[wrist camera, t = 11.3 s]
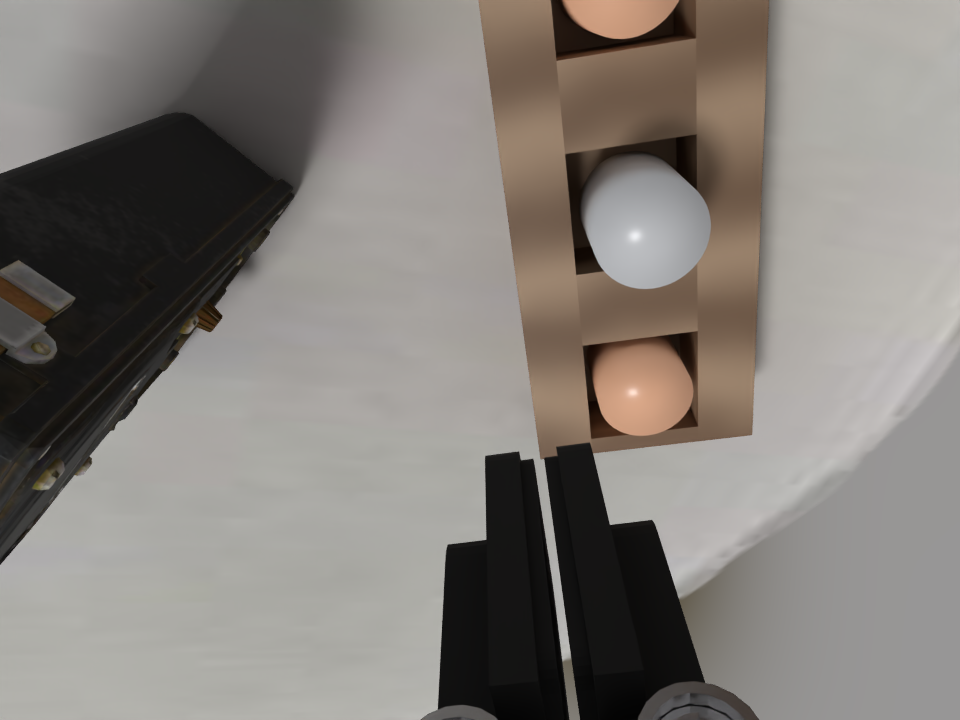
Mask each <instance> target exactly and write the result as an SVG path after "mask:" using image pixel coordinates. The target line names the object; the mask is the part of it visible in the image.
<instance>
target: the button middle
mask: <svg viewBox="0 0 960 720" xmlns="http://www.w3.org/2000/svg"><path fill="white" fill-rule="evenodd" d="M579 214H580V219H581V222H582V225H583V227H584V230H585V232H586V235H587V237H588V239H589V242H590V244H591V247H592V249H593V252H594V254H595V257H596V259H597V261H598V263H599V265H600V266H601V268H602V269H603V270H604V271H605V273H606V274H607V275H609V276H610V277H611V278H612V279H614V280H615V281H617V282H618V283H621V284H623V285H625V286H628V287H632V288H637V289H653V288H658V287H662V286H665V285H668V284H671V283H673V282H675V281H677V280H678V279H680V278H682V277H683V276H684V275H686V274H687V273H688V272H689V271H690V270H691V269H693V268H694V266H695V265H696V264H697V263H698V262H699V260H700V259H701V257H702V255H703V254H704V252H705V250H706V247H707V244H708V242H709V237H710V231H711V220H710V214H709V210H708V208H707V205H706V203H705V201H704V199H703V198H702V196H701V195H700V194H699V192H698V191H697V190H696V189H695V188H694V187H692V186H691V185H690V184H689V183H688V182H687V181H686V180H685V179H684V178H683V177H682V176H681V175H680V174H679V173H677V172H676V171H675V170H674V169H673V168H672V167H671V166H670V165H669V164H668V163H667V162H666V161H664V160H663V159H661V158H660V157H658V156H656V155H654V154H651V153H648V152H643V151H627V152H623V153H619V154H616V155H613V156H611V157H610V158H608V159H606V160H604V161H603V162H601V163H600V164H599V165H598V166H597V167H596V168H595V169H594V170H593V171H592V172H591V173H590V175H589V176H588V178H587V179H586V181H585V183H584V185H583V188H582V190H581V194H580V199H579Z"/></svg>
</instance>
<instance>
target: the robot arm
mask: <svg viewBox="0 0 960 720" xmlns="http://www.w3.org/2000/svg"><path fill="white" fill-rule="evenodd" d="M556 450H557V456H552V457H544V460H545V467H546V475H547V482H548V489H549V497H550V504H551V511H552V519H553V526H554V533H555V541H556V548H557V556H558V563H559V570H560V578H561V585H562V592H563V600H564V607H565V614H566V622H567V629H568V636H569V644H570V651H571V658H572V665H573V673H574V680H575V687H576V694H577V701H578V708H579V714H580V720H759V719H758V718H757V716H756V715H755V713H754V712H753V711H752V709H751V708H750V707H749V706H748V705H747V704H746V703H744V702H743V701H742V700H741V699H739V698H738V697H737V696H736V695H734V694H733V693H731V692H729V691H727V690H724V689H722V688H720V687H718V686H716V685H713V684H707V683H705V681H704V678H703V674H702V671H701V668H700V665H699V662H698V659H697V655H696V652H695V649H694V646H693V643H692V640H691V636H690V633H689V630H688V627H687V624H686V621H685V617H684V614H683V611H682V608H681V605H680V602H679V598H678V595H677V592H676V589H675V586H674V583H673V579H672V576H671V573H670V570H669V567H668V564H667V560H666V557H665V554H664V551H663V548H662V545H661V541H660V538H659V535H658V532H657V529H656V526H655V524H654V522H653V521H652V520H648V521H640V522H632V523H623V524H615V525H610V524H609V520H608V515H607V511H606V507H605V503H604V498H603V494H602V490H601V486H600V481H599V477H598V473H597V469H596V464H595V460H594V456H593V452H592V447H591V444H590V442H589V443H581V444H573V445H566V446H558V447H556ZM485 479H486V536H487V540H482V541H474V542H466V543H458V544H449V545H448V546H447V550H446V561H445V581H444V601H443V620H442V640H441V659H440V679H439V698H438V710H436V711H434V712H432V713H429V714H427V715H426V716H425V717H424V718H422V719H421V720H569V713H568V705H567V697H566V689H565V681H564V672H563V664H562V656H561V647H560V639H559V631H558V623H557V615H556V606H555V598H554V591H553V583H552V576H551V570H550V563H549V557H548V550H547V544H546V537H545V531H544V524H543V518H542V511H541V505H540V498H539V492H538V485H537V478H536V472H535V466H534V460H533V459H529V460H521V459H520V454H519V452H512V453H504V454H496V455H489V456H486V457H485Z"/></svg>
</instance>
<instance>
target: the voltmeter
mask: <svg viewBox="0 0 960 720" xmlns="http://www.w3.org/2000/svg"><path fill="white" fill-rule="evenodd" d="M292 190H293V187H292V186H291V185H289V184H288V183H287V182H285V181H284V180H283V179H281V180H279V181H278V182H276V181H275V180H274V179H273V178H271V177H270V176H269V175H268V174H266V173H265V172H264V171H262V170H261V169H260V168H259V167H257V166H256V165H255V164H254V163H252V162H251V161H250V160H249V159H247V158H246V157H245V156H243V155H242V154H241V153H240V152H238V151H237V150H236V149H235V148H233V147H232V146H231V145H230V144H228V143H227V142H226V141H224V140H223V139H222V138H221V137H219V136H218V135H217V134H216V133H214V132H213V131H212V130H211V129H209V128H208V127H207V126H205V125H204V124H203V123H202V122H200V121H199V120H198V119H197V118H195V117H194V116H193V115H190V114H187V113H171V114H166V115H163V116H161V117H158V118H155V119H152V120H149V121H147V122H144V123H141V124H138V125H135V126H133V127H130V128H127V129H124V130H121V131H119V132H116V133H113V134H110V135H107V136H105V137H102V138H99V139H96V140H93V141H91V142H88V143H85V144H82V145H79V146H77V147H74V148H71V149H68V150H65V151H63V152H60V153H57V154H54V155H51V156H49V157H46V158H43V159H40V160H37V161H35V162H32V163H29V164H26V165H23V166H21V167H18V168H15V169H12V170H9V171H7V172H4V173H1V174H0V564H1V563H2V562H3V561H4V560H5V559H6V557H7V556H8V555H9V554H10V553H11V552H12V551H13V549H14V548H15V547H16V546H17V545H18V544H19V542H20V541H21V540H22V539H23V538H24V537H25V535H26V534H27V533H28V532H29V531H30V530H31V528H32V527H33V526H34V525H35V524H36V522H37V521H38V520H39V519H40V517H41V516H42V515H43V514H44V512H45V511H46V510H47V509H48V507H49V506H50V505H51V504H52V502H53V501H54V500H55V498H56V497H57V496H58V495H59V493H60V492H61V491H62V490H63V488H64V487H65V486H66V485H67V483H68V482H69V481H70V480H71V479H72V477H73V476H74V475H77V476H79V475H83V474H84V473H85V472H86V471H87V469H88V468H89V467H90V466H91V464H92V458H90V457H89V456H90V455H91V454H92V452H93V451H94V450H95V449H96V447H97V446H98V445H99V444H100V442H101V441H102V440H103V439H104V438H105V436H106V435H107V434H108V433H109V432H110V431H112V430H114V429H115V426H116V424H117V423H118V422H119V421H121V420H123V419H125V418H126V417H127V416H128V415H129V413H130V412H131V411H132V410H133V408H134V407H135V406H136V404H137V402H138V399H139V398H140V397H141V396H142V394H143V393H144V392H145V391H146V390H147V389H148V388H149V386H150V385H151V384H152V383H153V382H154V381H155V380H156V378H157V377H158V376H159V375H160V374H161V373H162V372H163V371H165V370H166V369H167V368H168V367H169V365H170V364H171V363H172V362H173V361H174V359H175V358H176V357H177V355H178V354H179V352H178V351H179V350H180V348H181V347H182V346H183V344H184V343H185V342H186V340H187V339H188V338H189V337H190V335H191V334H192V333H193V331H194V330H195V329H196V327H198V328H201V329H203V330H205V331H208V332H211V331H212V330H213V329H214V328H215V327H216V325H217V324H218V323H219V322H220V320H221V319H222V315H221V314H220V313H219V311H218V310H217V309H216V308H215V305H216V304H217V303H218V302H219V300H220V299H221V298H222V297H223V295H224V294H225V292H226V287H227V286H228V285H229V283H230V282H231V281H232V279H233V278H234V277H235V275H236V274H237V273H238V271H239V270H240V269H241V267H242V266H243V265H244V264H245V262H246V261H247V260H248V258H249V257H250V256H251V254H252V253H253V252H255V251H256V250H257V249H258V248H259V247H260V245H261V244H262V243H263V242H264V240H265V239H266V238H267V236H268V235H269V233H270V231H269V230H270V229H271V228H272V226H273V225H274V224H275V222H276V221H277V220H278V218H279V217H280V216H281V214H282V213H283V212H284V210H285V209H286V208H287V206H288V205H289V204H290V202H291V201H292V200H293V198H294V195H293V194H292V193H291V191H292Z"/></svg>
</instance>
